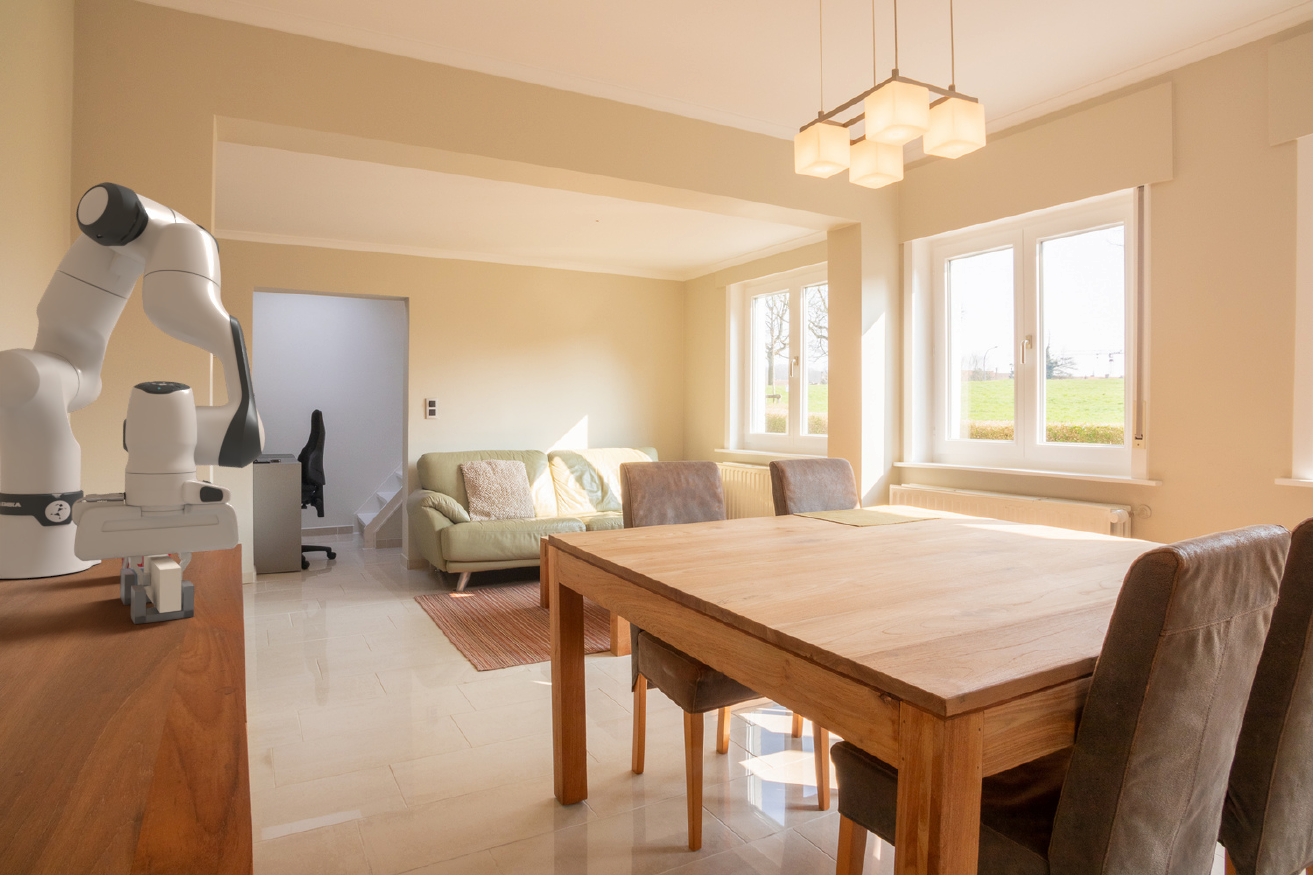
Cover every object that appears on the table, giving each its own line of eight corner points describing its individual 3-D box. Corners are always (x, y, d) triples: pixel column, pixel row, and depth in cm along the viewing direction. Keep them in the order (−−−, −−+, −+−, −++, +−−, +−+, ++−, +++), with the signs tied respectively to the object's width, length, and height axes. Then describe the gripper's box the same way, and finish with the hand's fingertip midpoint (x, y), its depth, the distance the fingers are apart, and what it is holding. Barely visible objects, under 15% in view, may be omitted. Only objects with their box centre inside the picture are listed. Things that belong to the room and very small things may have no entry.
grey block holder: (193, 616, 107) (194, 585, 107) (134, 624, 102) (135, 591, 102) (173, 591, 120) (173, 564, 120) (120, 597, 116) (120, 569, 115)
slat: (181, 610, 104) (181, 567, 104) (159, 613, 102) (160, 569, 102) (162, 588, 116) (163, 549, 116) (143, 590, 114) (143, 551, 114)
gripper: (73, 496, 100) (72, 598, 101) (242, 490, 114) (241, 579, 114) (70, 492, 105) (69, 589, 105) (233, 486, 118) (231, 572, 119)
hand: (160, 584), depth 110 cm, fingers closed on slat, 2 cm apart
